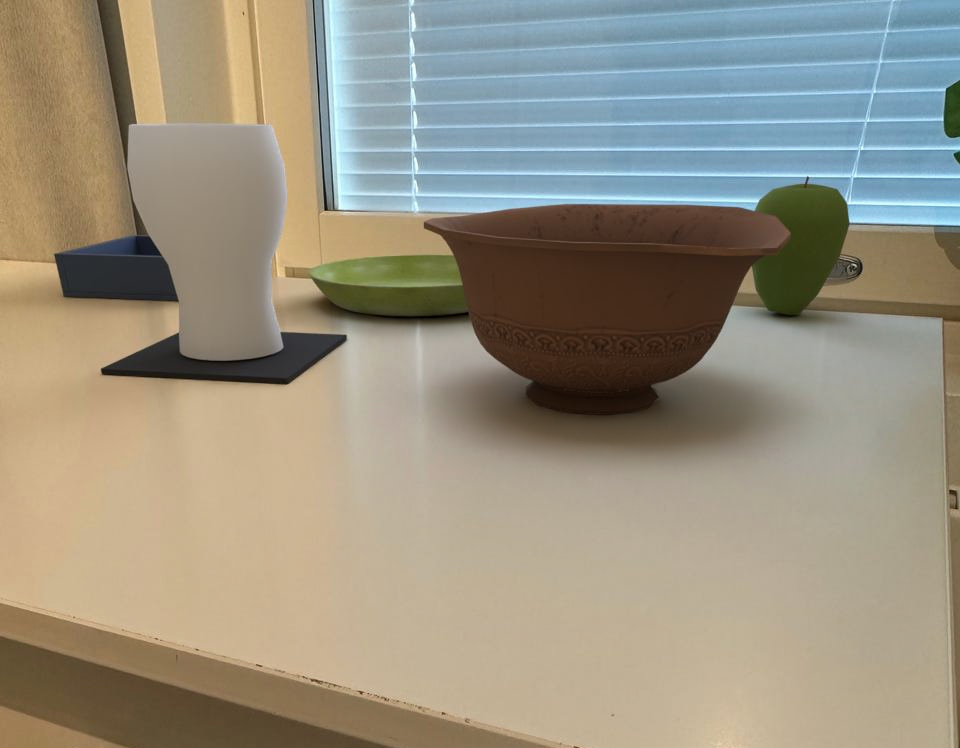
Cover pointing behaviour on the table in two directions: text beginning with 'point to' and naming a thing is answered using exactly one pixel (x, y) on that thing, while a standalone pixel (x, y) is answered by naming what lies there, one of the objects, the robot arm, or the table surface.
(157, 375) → the mat
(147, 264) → the bin
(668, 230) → the bowl
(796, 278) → the apple
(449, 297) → the saucer
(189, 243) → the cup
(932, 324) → the table surface
